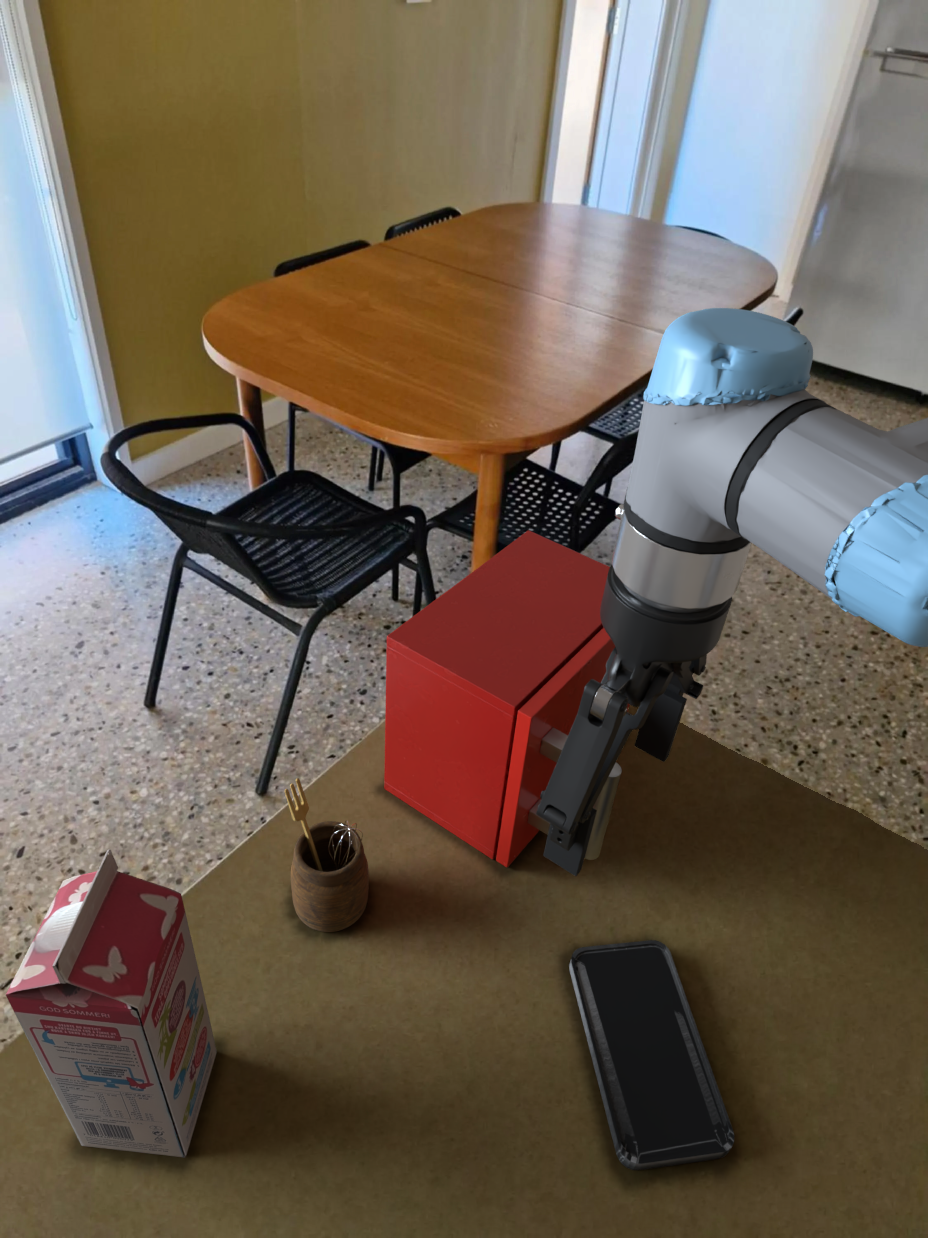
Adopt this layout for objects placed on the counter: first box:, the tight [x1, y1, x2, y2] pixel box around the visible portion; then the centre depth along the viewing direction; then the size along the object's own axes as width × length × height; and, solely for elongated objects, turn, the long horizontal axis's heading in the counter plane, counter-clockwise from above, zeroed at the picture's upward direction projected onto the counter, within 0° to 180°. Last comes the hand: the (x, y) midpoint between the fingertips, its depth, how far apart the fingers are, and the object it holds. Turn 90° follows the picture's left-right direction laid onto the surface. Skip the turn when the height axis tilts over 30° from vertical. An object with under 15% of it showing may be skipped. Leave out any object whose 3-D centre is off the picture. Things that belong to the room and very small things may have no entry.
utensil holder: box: [284, 777, 370, 933], centre depth 67 cm, size 6×6×12 cm
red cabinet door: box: [495, 627, 631, 869], centre depth 74 cm, size 8×20×18 cm, turn 143°
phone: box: [568, 939, 735, 1171], centre depth 62 cm, size 8×1×15 cm
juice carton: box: [5, 848, 218, 1158], centre depth 51 cm, size 7×7×22 cm
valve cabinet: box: [383, 529, 610, 860], centre depth 78 cm, size 12×20×18 cm, turn 143°
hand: (609, 803), depth 67 cm, fingers open, 13 cm apart
